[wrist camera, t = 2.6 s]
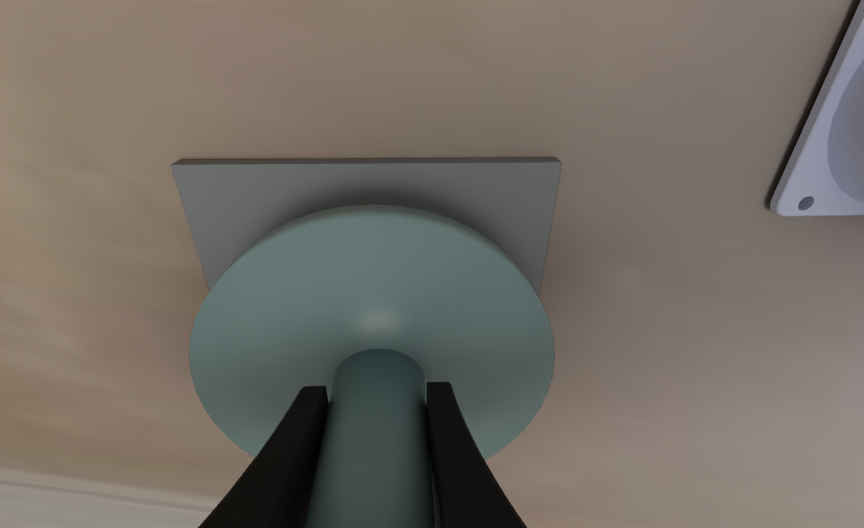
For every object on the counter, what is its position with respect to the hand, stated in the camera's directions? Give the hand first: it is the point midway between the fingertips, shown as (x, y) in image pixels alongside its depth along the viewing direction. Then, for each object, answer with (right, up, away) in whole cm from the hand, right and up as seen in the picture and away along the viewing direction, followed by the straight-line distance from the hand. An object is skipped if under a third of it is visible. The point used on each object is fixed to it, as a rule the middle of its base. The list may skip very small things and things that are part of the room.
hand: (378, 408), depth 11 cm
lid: (0, +1, +2) cm, 2 cm away
